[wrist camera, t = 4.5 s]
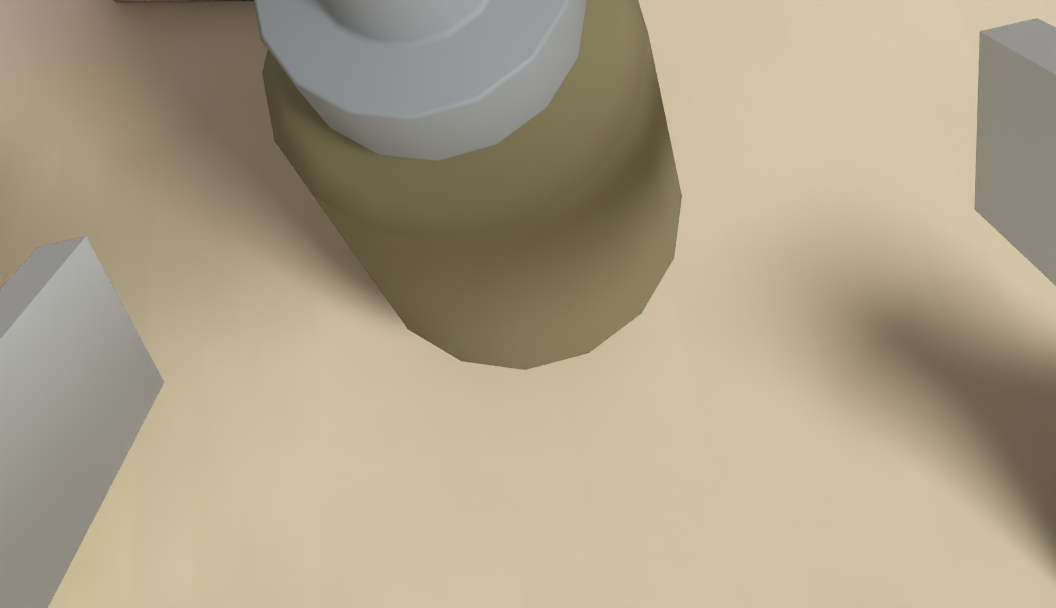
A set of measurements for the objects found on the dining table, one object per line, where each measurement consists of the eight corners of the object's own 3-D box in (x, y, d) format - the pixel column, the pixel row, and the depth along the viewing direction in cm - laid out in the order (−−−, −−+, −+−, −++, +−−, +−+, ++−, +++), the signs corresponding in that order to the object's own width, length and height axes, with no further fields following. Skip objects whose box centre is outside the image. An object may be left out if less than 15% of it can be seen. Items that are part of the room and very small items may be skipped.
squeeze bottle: (688, 380, 25) (776, 83, 8) (401, 397, 26) (-104, 167, 9) (666, 107, 27) (697, -636, 10) (397, 132, 28) (-24, -501, 10)
